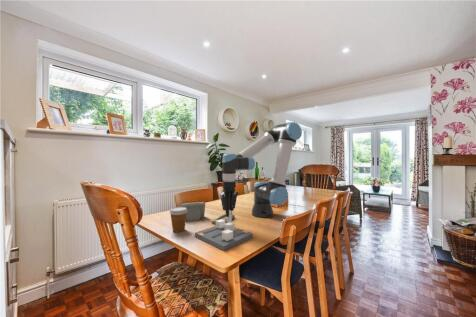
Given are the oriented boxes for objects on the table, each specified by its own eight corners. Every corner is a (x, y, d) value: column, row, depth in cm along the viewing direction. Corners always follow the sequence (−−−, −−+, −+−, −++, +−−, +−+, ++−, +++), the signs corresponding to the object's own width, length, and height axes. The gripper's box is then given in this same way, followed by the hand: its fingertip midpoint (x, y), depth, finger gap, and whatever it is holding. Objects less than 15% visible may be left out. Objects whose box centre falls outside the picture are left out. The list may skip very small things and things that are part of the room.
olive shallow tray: (224, 217, 138) (224, 212, 138) (234, 218, 134) (234, 213, 134) (211, 224, 124) (211, 218, 124) (222, 226, 120) (222, 220, 120)
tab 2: (229, 228, 109) (229, 222, 109) (234, 230, 107) (234, 223, 107) (224, 230, 106) (224, 223, 106) (228, 232, 104) (228, 225, 104)
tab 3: (228, 236, 99) (228, 229, 98) (233, 238, 96) (233, 231, 96) (221, 239, 96) (221, 231, 96) (226, 241, 93) (226, 233, 93)
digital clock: (205, 216, 139) (205, 200, 139) (205, 220, 130) (205, 203, 130) (181, 217, 137) (180, 201, 137) (179, 221, 128) (178, 204, 128)
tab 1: (221, 225, 114) (221, 219, 114) (225, 226, 112) (225, 220, 112) (215, 227, 111) (215, 220, 111) (219, 228, 109) (219, 222, 109)
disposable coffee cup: (165, 232, 110) (165, 210, 110) (176, 226, 119) (176, 205, 119) (180, 234, 107) (180, 211, 107) (190, 228, 116) (190, 207, 116)
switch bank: (223, 226, 118) (223, 223, 118) (252, 237, 103) (252, 233, 103) (194, 236, 104) (194, 232, 104) (223, 250, 89) (223, 246, 89)
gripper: (232, 179, 123) (232, 218, 123) (216, 181, 114) (215, 223, 114) (241, 180, 118) (241, 220, 118) (225, 182, 108) (225, 226, 109)
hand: (228, 221), depth 116 cm, fingers closed
